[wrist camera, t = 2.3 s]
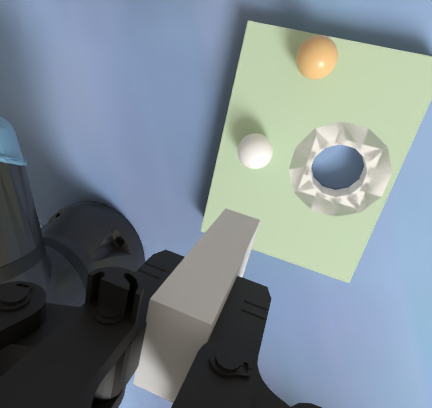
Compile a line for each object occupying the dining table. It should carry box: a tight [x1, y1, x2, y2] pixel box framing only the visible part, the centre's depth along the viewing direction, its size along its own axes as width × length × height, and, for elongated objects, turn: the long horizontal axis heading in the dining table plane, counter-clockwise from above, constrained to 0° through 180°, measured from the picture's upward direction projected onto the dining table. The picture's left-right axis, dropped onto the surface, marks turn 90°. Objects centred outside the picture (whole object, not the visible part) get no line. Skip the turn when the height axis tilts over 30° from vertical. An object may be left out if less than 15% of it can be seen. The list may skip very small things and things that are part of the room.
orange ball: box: [296, 35, 338, 80], centre depth 27 cm, size 3×3×3 cm
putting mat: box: [201, 21, 432, 283], centre depth 33 cm, size 17×22×3 cm
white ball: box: [237, 133, 273, 169], centre depth 31 cm, size 3×3×3 cm
